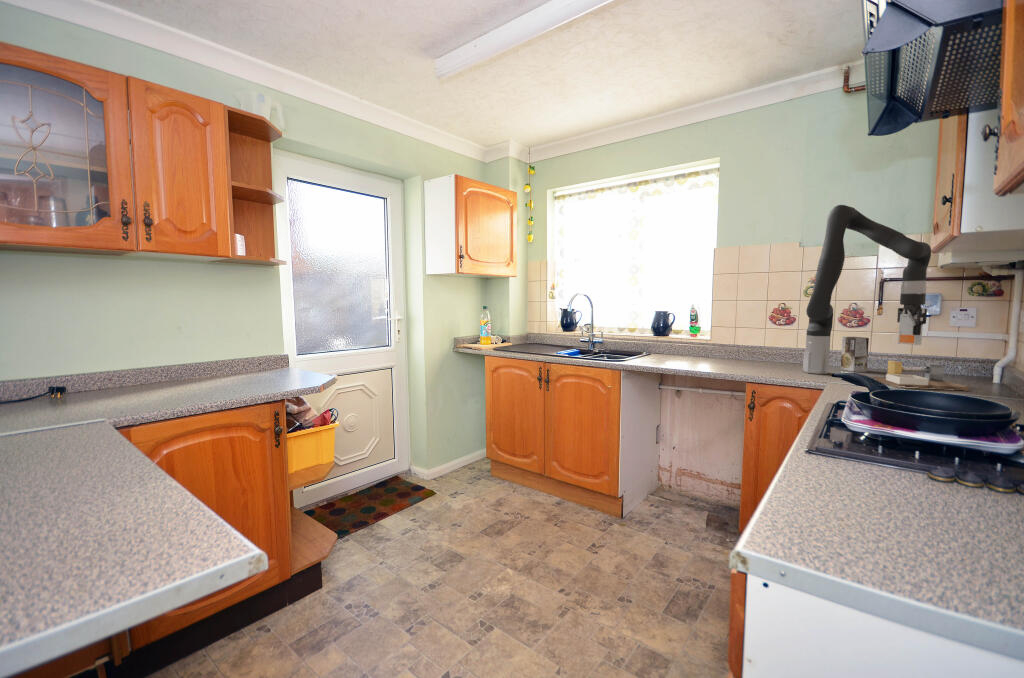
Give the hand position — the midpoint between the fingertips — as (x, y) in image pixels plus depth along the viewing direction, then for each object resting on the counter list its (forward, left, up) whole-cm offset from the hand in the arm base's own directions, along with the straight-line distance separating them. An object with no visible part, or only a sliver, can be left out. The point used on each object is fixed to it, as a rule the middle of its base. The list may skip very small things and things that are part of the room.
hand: (910, 334), depth 178 cm
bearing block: (+10, +3, -18) cm, 21 cm away
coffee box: (-4, +35, -20) cm, 41 cm away
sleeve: (-4, -7, -18) cm, 20 cm away
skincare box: (0, 0, -4) cm, 4 cm away
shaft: (+3, +3, -17) cm, 18 cm away
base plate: (+2, -3, -20) cm, 20 cm away
